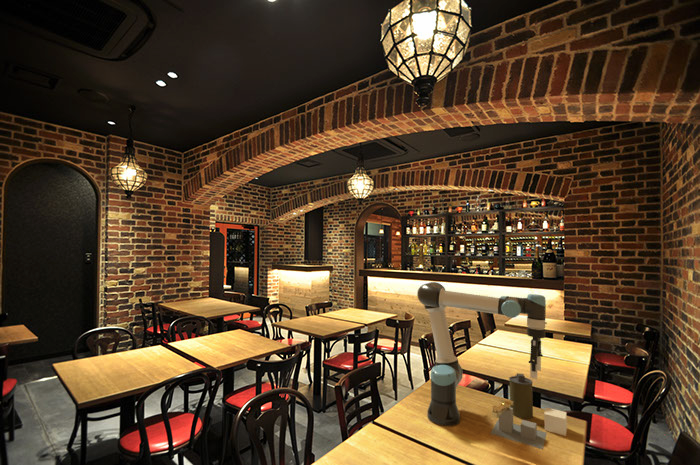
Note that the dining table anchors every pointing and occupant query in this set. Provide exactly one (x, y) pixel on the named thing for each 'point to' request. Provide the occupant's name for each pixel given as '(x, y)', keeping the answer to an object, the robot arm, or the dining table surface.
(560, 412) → the cover
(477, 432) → the dining table surface
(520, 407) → the canister
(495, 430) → the latch base
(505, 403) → the latch bar
